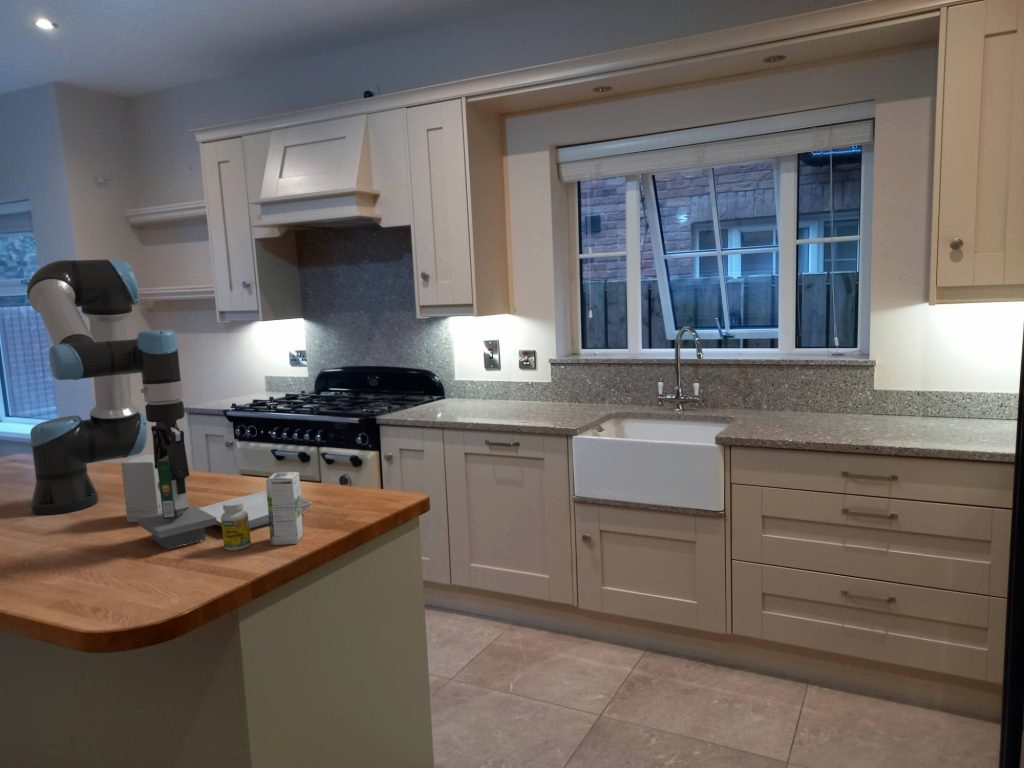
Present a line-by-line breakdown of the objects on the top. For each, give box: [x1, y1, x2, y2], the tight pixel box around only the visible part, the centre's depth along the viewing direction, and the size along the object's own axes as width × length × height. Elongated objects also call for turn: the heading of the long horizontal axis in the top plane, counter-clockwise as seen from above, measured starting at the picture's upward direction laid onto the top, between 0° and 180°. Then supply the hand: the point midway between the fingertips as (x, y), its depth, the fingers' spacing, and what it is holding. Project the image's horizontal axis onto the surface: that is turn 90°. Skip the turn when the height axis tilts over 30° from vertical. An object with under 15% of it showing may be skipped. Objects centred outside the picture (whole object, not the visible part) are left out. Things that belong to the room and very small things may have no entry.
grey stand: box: [137, 505, 217, 550], centre depth 162 cm, size 14×12×5 cm
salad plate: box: [198, 490, 313, 530], centre depth 176 cm, size 21×21×3 cm
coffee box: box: [157, 455, 190, 519], centre depth 161 cm, size 8×3×13 cm, turn 3°
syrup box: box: [265, 471, 304, 546], centre depth 157 cm, size 6×6×14 cm
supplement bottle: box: [221, 500, 252, 551], centre depth 155 cm, size 5×5×10 cm
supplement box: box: [120, 454, 163, 523], centre depth 179 cm, size 9×9×15 cm
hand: (175, 504), depth 161 cm, fingers closed on coffee box, 7 cm apart
